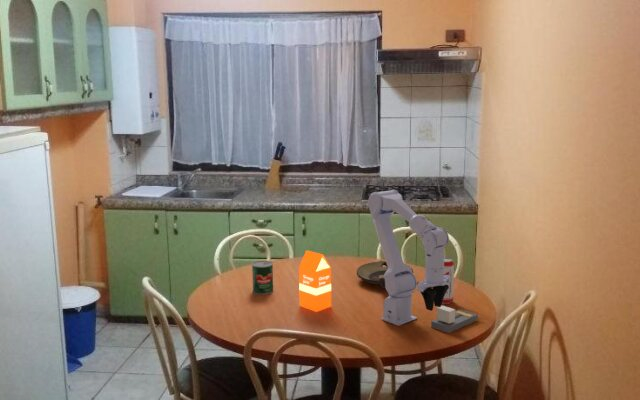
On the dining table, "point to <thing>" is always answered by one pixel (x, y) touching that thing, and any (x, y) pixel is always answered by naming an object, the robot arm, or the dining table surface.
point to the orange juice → (314, 282)
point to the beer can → (448, 271)
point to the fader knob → (446, 314)
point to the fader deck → (460, 320)
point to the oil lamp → (374, 272)
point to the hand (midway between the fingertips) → (433, 308)
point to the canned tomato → (262, 277)
